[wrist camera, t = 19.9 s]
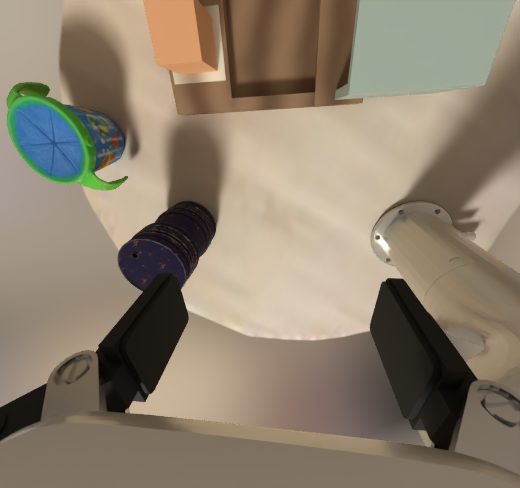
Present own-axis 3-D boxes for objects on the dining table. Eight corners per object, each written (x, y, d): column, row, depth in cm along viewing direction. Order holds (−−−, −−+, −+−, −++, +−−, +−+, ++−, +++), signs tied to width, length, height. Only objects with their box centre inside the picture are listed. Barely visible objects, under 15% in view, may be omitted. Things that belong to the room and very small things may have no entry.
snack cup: (47, 106, 36) (-32, 103, 27) (88, 67, 33) (15, 48, 24) (116, 192, 42) (70, 212, 33) (157, 166, 39) (118, 181, 30)
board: (376, -47, 24) (387, -68, 22) (356, 104, 31) (362, 102, 28) (161, -17, 27) (147, -32, 25) (186, 115, 34) (177, 114, 31)
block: (211, 17, 26) (192, -8, 21) (217, 71, 28) (202, 60, 23) (171, 22, 27) (142, -1, 21) (180, 74, 29) (157, 65, 24)
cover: (484, -76, 21) (575, -166, 14) (436, 93, 27) (484, 85, 20) (349, -56, 22) (375, -129, 16) (334, 99, 28) (348, 94, 22)
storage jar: (227, 229, 43) (201, 276, 30) (194, 254, 47) (159, 306, 34) (189, 189, 40) (142, 224, 27) (157, 220, 44) (103, 262, 31)
